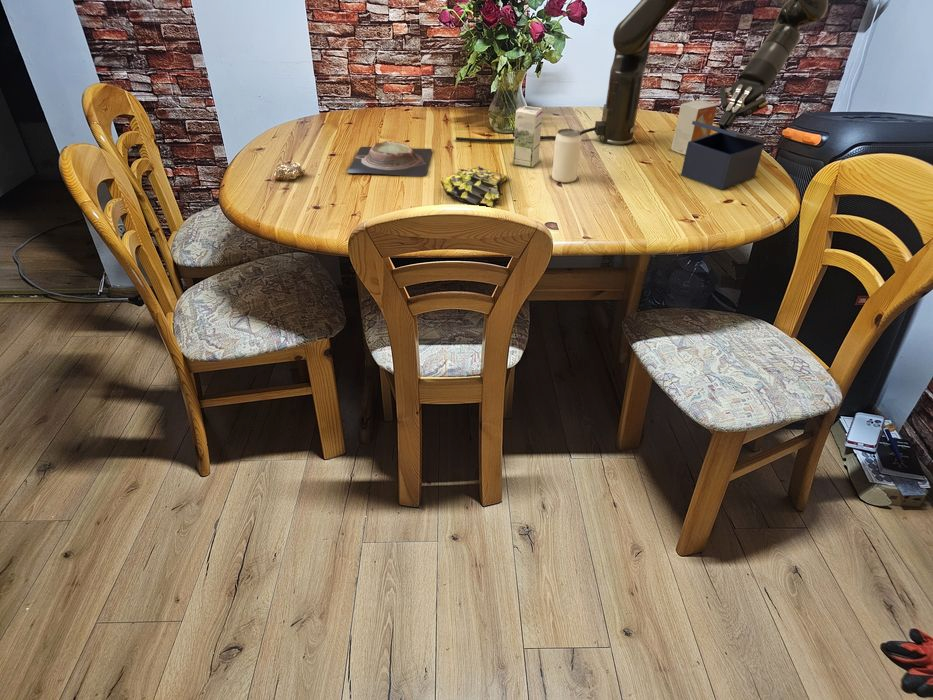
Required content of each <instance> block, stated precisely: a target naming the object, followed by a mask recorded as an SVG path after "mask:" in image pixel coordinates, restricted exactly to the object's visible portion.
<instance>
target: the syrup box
mask: <svg viewBox="0 0 933 700" xmlns="http://www.w3.org/2000/svg"><path fill="white" fill-rule="evenodd" d="M542 120H543V107H536V106H529V105H521V106H520V107H518V108H517V109H516V110H515V120H514V137H513V139H514V142H513V159H512V164H513V165H515V166H520V167H525V168H534V166H536V164H538V163H539V160H540V148H541V147H540V146H541V140H540V136H542V135H541V134H542V133H541V132H542V122H543V121H542Z"/></svg>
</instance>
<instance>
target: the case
mask: <svg viewBox="0 0 933 700" xmlns="http://www.w3.org/2000/svg"><path fill="white" fill-rule="evenodd" d="M764 146H765V143H760V142H756V141H751V140H746V139H742V138H737V137H733V136H730V135H726V134H723V133H720V132H714V133H710V135H708V136H705V137H701V138H698V139H695V140H692V141H689V142H688V145H687V150H686V154H685V155H684V159H683V163H682V168H681V173H680V175H681V176H683V177H685V178H689V179H691V180H694V181H697V182H700V183H702V184H705V185H708V186H711V187H713V188H716V189H719V190H721V191H723V190H726V189H728V188H731V187H733V186H735V185H738V184H740V183H742V182H745V181H748V180H750V179H752V178H755V177H756V174H757V169H758V167H759V163H760V159H761V156H762V153H763V150H764Z"/></svg>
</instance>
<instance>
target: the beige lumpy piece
mask: <svg viewBox="0 0 933 700" xmlns="http://www.w3.org/2000/svg"><path fill="white" fill-rule="evenodd" d="M304 174H306V168H302V166H301V163H300V162H293V163H286V164H285V163H283V164H281V165H277V168H276V169H275V172H274V175H273V179H274V180H279V181H283V180H284V179H291V180H295V179H296V178H298V177H301V175H304Z"/></svg>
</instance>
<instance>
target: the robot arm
mask: <svg viewBox="0 0 933 700" xmlns="http://www.w3.org/2000/svg"><path fill="white" fill-rule="evenodd" d="M680 1H681V0H640V1H639V2H638V3H637V4H636V5H635V6H634V8H633V9H632V10H631V11H630V12H629V13H628V14H627V15H626V16H625V17H624V18H623V19H622V20H621V21H620V22H619V23H618V24H617V25H616V27H615V28H614V32H613V36H612V45H613V47H614V49H615V52H614V57H613V61H612V64H611V67H610V70H609V71H610V72H609V76H608V77H609V78H608V86H607V91H606V93H607V94H606V101H605V103H604V104H603V108H602V109H603V110H602V116H601V120H596V121H595V124H594V126H593V127H590V128H587V129H584V130H581V131H580V136H582V135H584V134H586V133H590V132H594V133H595V135H596V136H597V137H599V138H600V140H601V142H602V143H603V144H610V145H617V146H623V145H624V146H625V145H629V144H631V143H633V141H634V135H635V133H634V132H635V131H636V130H637V125H636V122H637V115H638V110H639V104H640V97H641V91H642V86H643V80H644V75H645V71H646V68H647V63H648V58H649V52H650V48H651V42H652V36H653V33H654V31H655V30H656V28H657V27H658V26H659V24H660V23H661V21H662V20H663V19H664V18H665V17H666V16H667V14H668V13H669V12H670V11H671V10H672V9H673V8H674V7H675V6H676V5H677V4H679V3H680ZM828 6H829V0H787V1H786V2H785V3H784V4H783V6H782V7H781V8H780V10H779V12H778V14H777V16H776V19H775V22H774V24H773V27H772V30H771V31H770V33H768V36H767V37H766V39H765V40H764V41H763V43H762V44H761V45H760V46H759V48H758V49H757V50H756V51H755V52H754V54H753V55H752V57H751V58H750V59H749V61H748V62H747V64H746V65H745V67H744V69H742V72H740V74H739V76H738V79H737V80H736V81H735V82H734V83H732V84H731V86H729V87H725V86H722V87H720V89H719V95H720V106H721V109H722V111H723V114H722V115H721V117H720V118H719V120H718V127H720V128H721V129H724V130H726V129H730V128H731V127H732V125H733V124H734V122H735V121H736V119H738V118H740V117H742V118H743V119H745V118H747V117H749V116H751V115H753V114H755V113H757V112H759V111H761V110H762V109H764V108H767V106H768V101H767V99H766V97H765V95H766V92H767V90H768V89H769V88H770V86H771V85H772V83H773V82H774V80H775V79H776V78H777V76H778V75H779V74H780V73H781V71H782V69H783V68H784V66H785V64H786V62H787V60H788V59H789V57H790V56H791V54H792V53H793V51H794V50H795V48H796V47H797V45H798V44H799V42H800V40H801V32H800V30H799V29H800V28H801V27H804V26H806V25H809V24H812V23H816V22H818V21H820V20H821V19H822V18H823V17H824V16H825V15H826V13H827V10H828V8H829V7H828ZM730 96H731V98H730ZM729 98H730V99H729ZM728 99H729V100H728ZM556 136H557V135H540V141H541V140H555V139H556ZM455 141H460V142H475V143H476V142H479V143H514V138H475V137H462V136H461V137H460V136H456V137H455Z"/></svg>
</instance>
